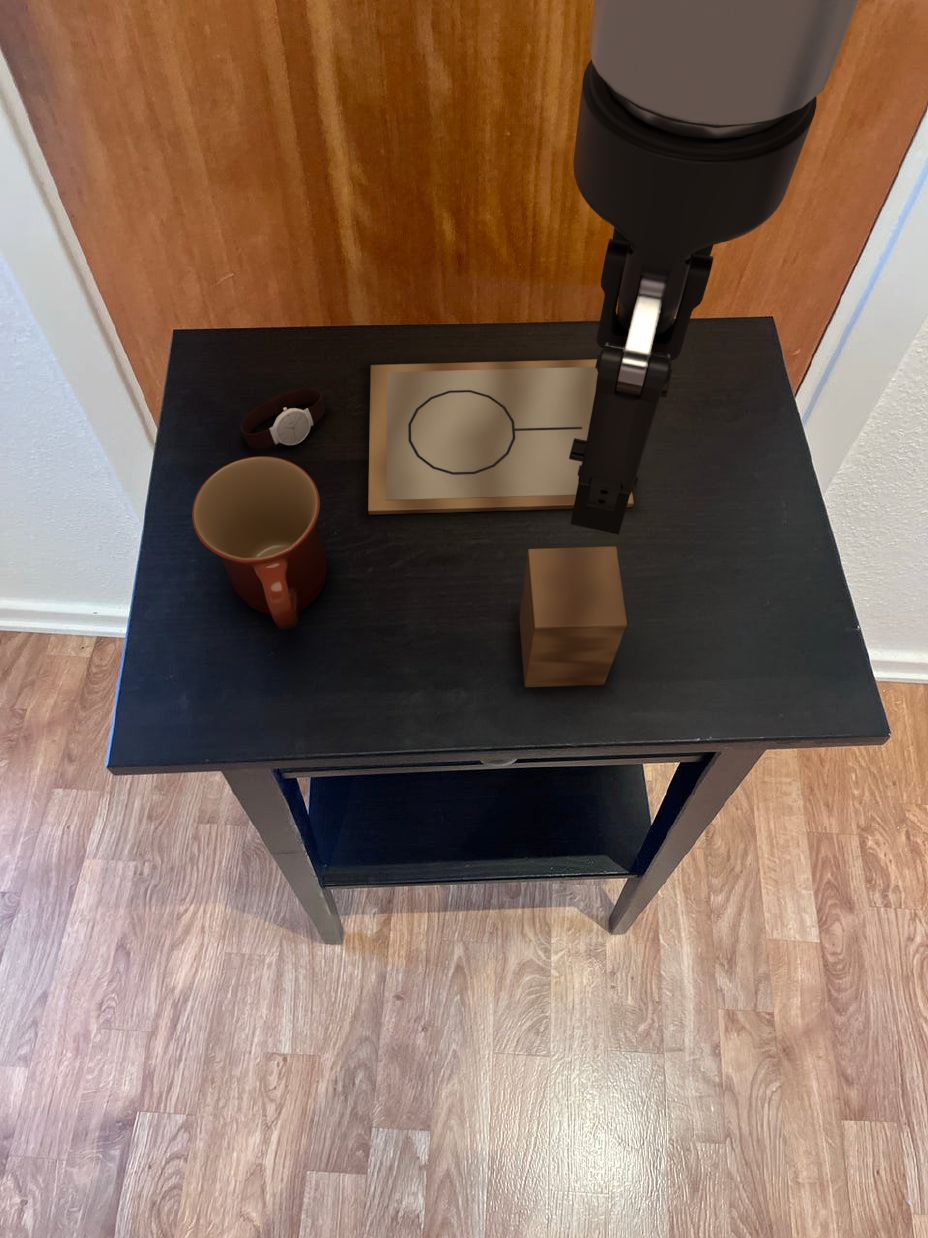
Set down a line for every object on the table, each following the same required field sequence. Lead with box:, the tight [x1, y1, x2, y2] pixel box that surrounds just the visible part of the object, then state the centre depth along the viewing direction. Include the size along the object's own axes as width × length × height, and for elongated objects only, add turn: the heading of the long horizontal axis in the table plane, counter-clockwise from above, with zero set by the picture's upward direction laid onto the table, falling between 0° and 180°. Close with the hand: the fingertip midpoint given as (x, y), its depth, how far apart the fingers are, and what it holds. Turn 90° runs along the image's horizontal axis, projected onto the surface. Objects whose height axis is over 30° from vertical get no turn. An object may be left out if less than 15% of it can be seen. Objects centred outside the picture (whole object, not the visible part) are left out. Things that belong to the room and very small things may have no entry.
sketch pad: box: [367, 358, 634, 516], centre depth 75 cm, size 22×16×1 cm
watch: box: [239, 387, 326, 449], centre depth 74 cm, size 8×5×4 cm, turn 126°
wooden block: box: [518, 546, 628, 688], centre depth 61 cm, size 6×6×10 cm
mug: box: [191, 455, 327, 630], centre depth 63 cm, size 12×9×10 cm
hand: (601, 500), depth 48 cm, fingers closed on marker, 2 cm apart
